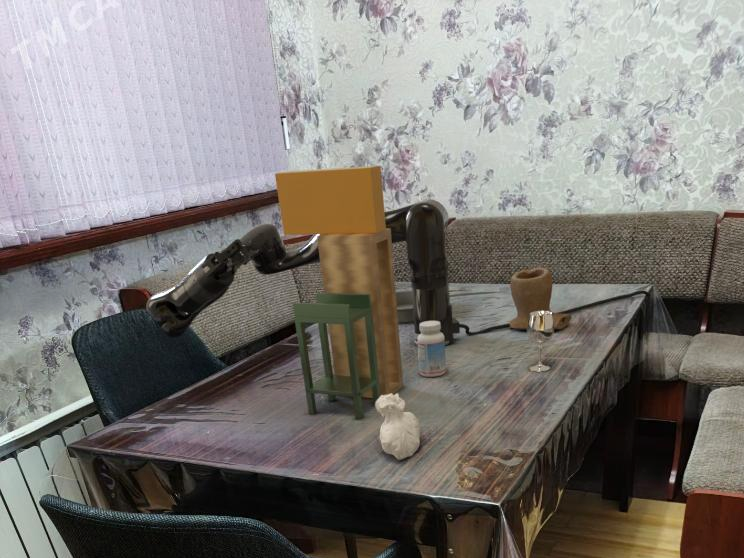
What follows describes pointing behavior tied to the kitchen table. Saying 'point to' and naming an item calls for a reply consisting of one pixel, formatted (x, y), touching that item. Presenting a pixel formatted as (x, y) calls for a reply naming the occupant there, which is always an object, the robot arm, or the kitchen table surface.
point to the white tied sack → (397, 427)
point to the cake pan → (404, 306)
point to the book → (331, 201)
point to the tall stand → (375, 277)
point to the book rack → (329, 312)
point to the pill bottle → (431, 349)
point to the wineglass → (540, 333)
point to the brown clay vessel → (533, 297)
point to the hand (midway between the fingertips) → (253, 239)
